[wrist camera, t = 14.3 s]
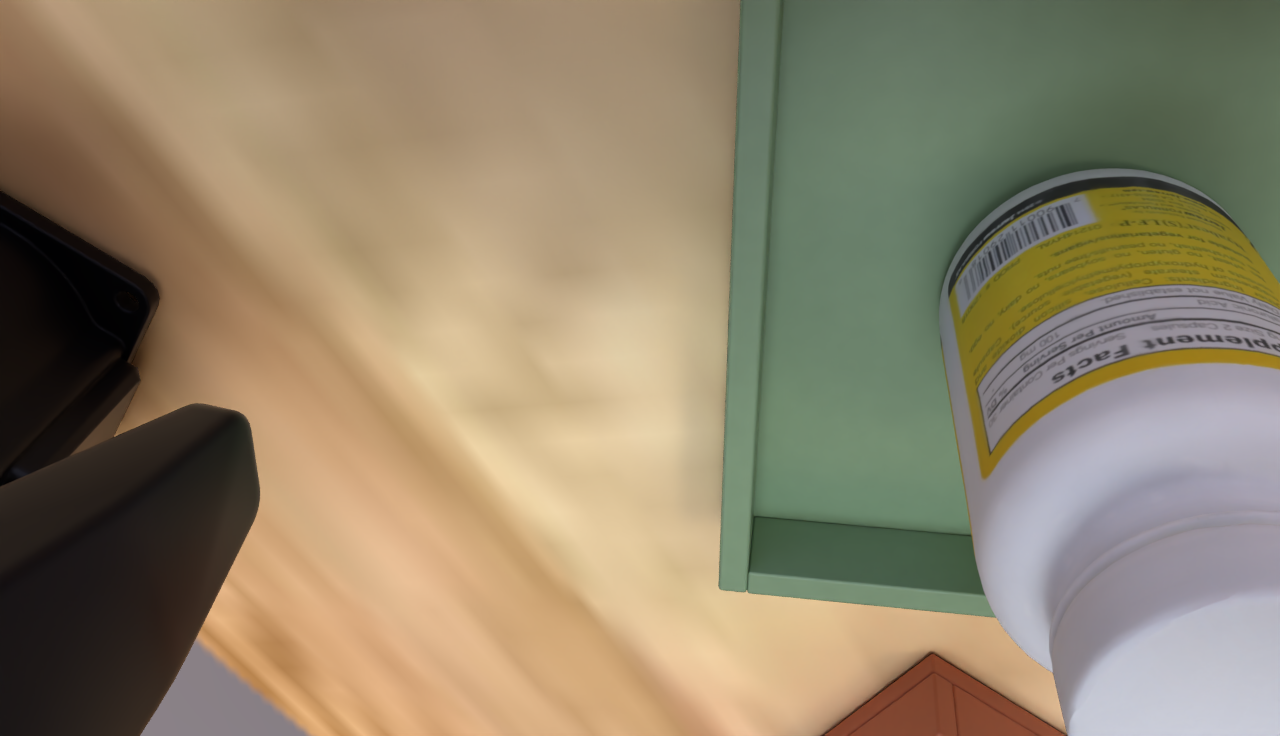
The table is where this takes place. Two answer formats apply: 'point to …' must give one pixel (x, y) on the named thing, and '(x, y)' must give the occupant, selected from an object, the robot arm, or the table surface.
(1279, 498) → the supplement bottle
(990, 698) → the terracotta tray
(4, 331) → the robot arm
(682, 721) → the table surface
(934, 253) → the green tray
